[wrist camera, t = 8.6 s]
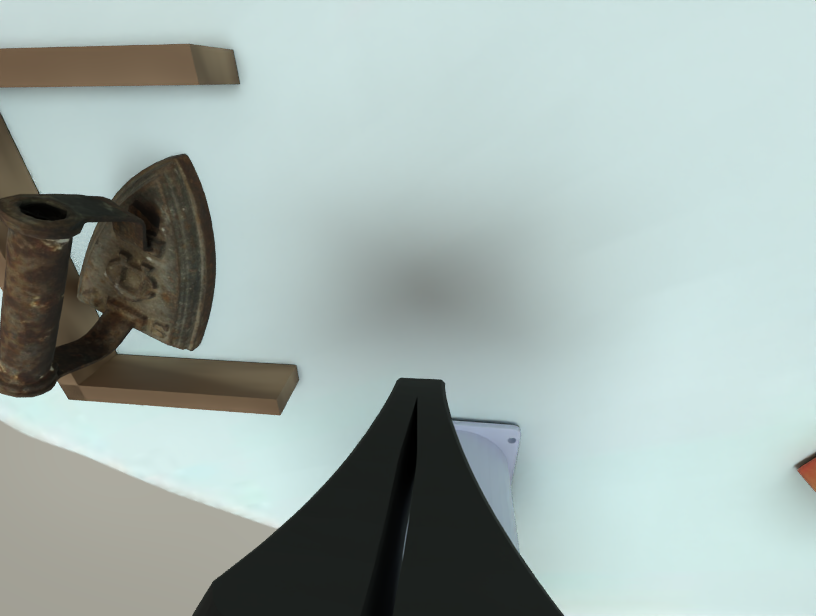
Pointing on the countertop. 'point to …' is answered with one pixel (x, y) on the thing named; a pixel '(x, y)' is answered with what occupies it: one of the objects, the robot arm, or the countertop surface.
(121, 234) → the clothes iron
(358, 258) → the countertop surface
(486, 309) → the countertop surface
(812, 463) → the cracker box
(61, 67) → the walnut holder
